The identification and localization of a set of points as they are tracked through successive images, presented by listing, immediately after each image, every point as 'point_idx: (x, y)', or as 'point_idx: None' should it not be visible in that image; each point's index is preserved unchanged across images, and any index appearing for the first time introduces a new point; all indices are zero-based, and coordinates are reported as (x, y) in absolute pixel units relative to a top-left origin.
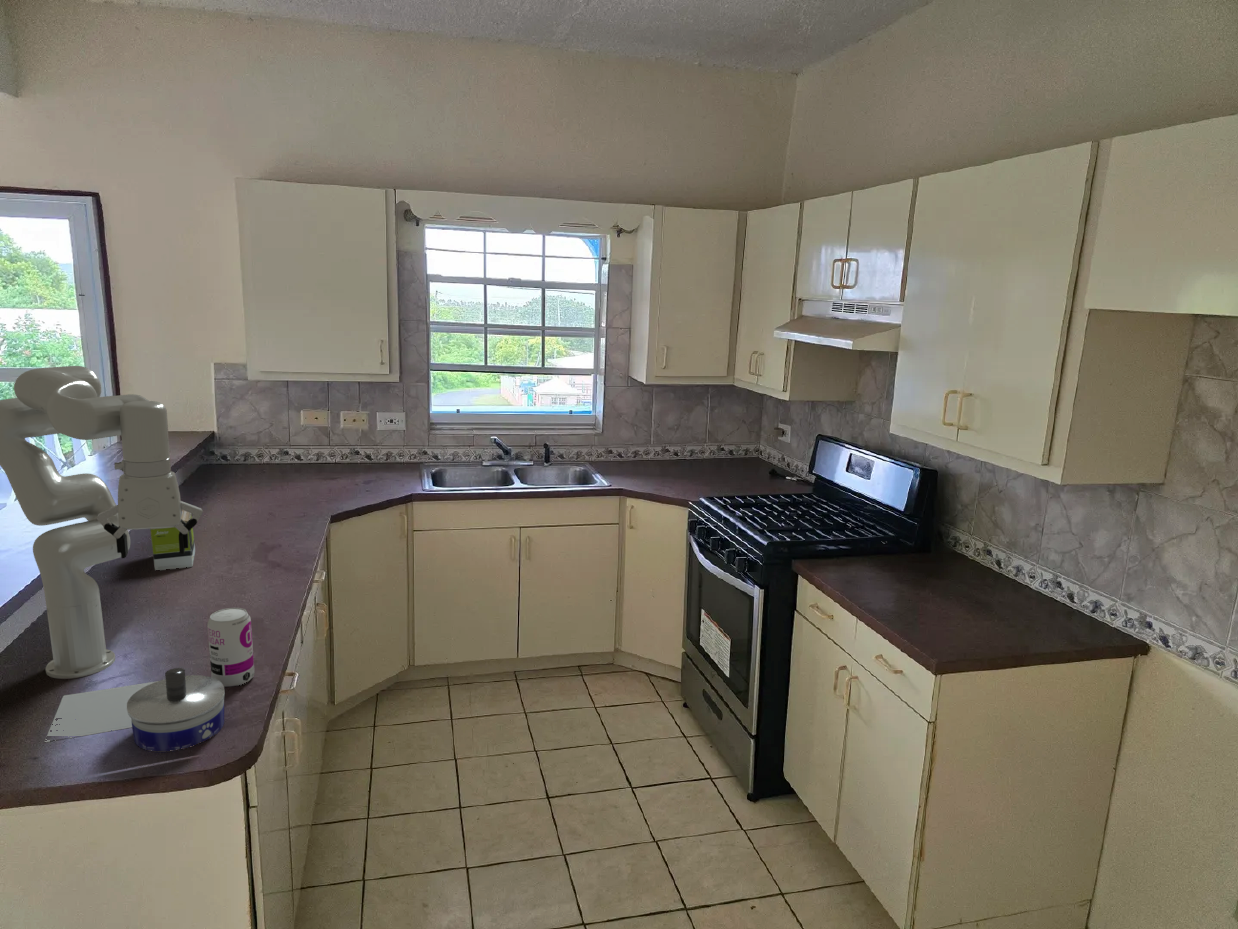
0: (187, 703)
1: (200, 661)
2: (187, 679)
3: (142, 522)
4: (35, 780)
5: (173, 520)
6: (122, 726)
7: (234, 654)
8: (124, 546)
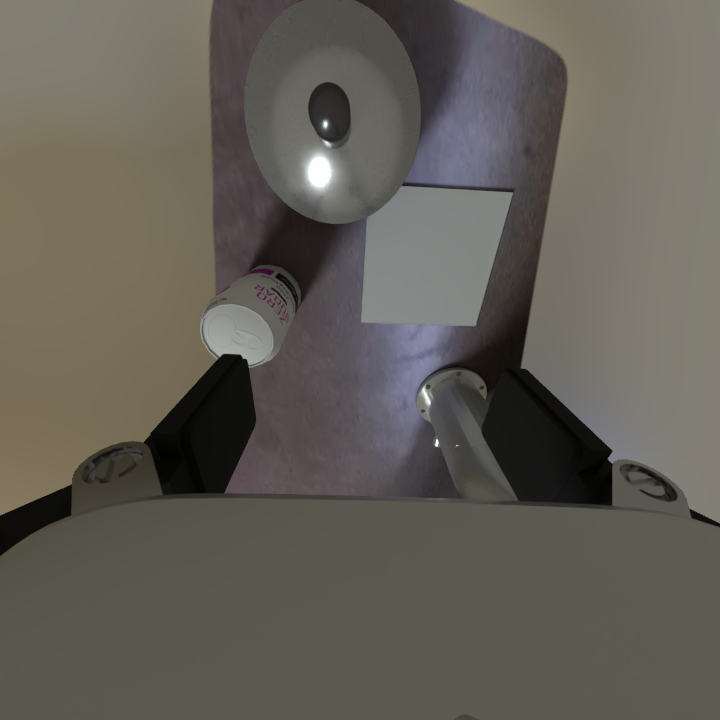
0: (311, 76)
1: (321, 362)
2: (319, 203)
3: (557, 609)
4: (540, 60)
5: (13, 609)
6: (416, 196)
7: (248, 278)
8: (543, 409)
